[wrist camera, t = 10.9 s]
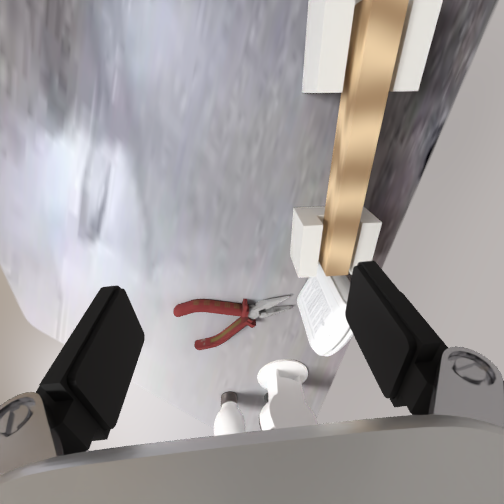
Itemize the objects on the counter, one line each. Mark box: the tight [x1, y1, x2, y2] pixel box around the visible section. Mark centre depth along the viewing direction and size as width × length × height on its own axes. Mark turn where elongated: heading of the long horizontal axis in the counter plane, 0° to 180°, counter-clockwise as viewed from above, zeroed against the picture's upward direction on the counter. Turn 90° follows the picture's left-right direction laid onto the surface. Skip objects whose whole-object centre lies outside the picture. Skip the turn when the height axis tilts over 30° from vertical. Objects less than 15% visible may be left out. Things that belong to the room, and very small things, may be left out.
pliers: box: [174, 295, 293, 350], centre depth 47 cm, size 12×20×3 cm, turn 106°
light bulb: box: [214, 392, 245, 436], centre depth 57 cm, size 7×7×11 cm
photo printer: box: [297, 264, 354, 357], centre depth 39 cm, size 10×4×12 cm, turn 159°
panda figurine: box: [257, 359, 318, 431], centre depth 52 cm, size 12×11×15 cm
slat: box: [318, 0, 409, 276], centre depth 30 cm, size 28×3×4 cm, turn 1°
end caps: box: [290, 0, 443, 278], centre depth 31 cm, size 30×10×6 cm, turn 1°
